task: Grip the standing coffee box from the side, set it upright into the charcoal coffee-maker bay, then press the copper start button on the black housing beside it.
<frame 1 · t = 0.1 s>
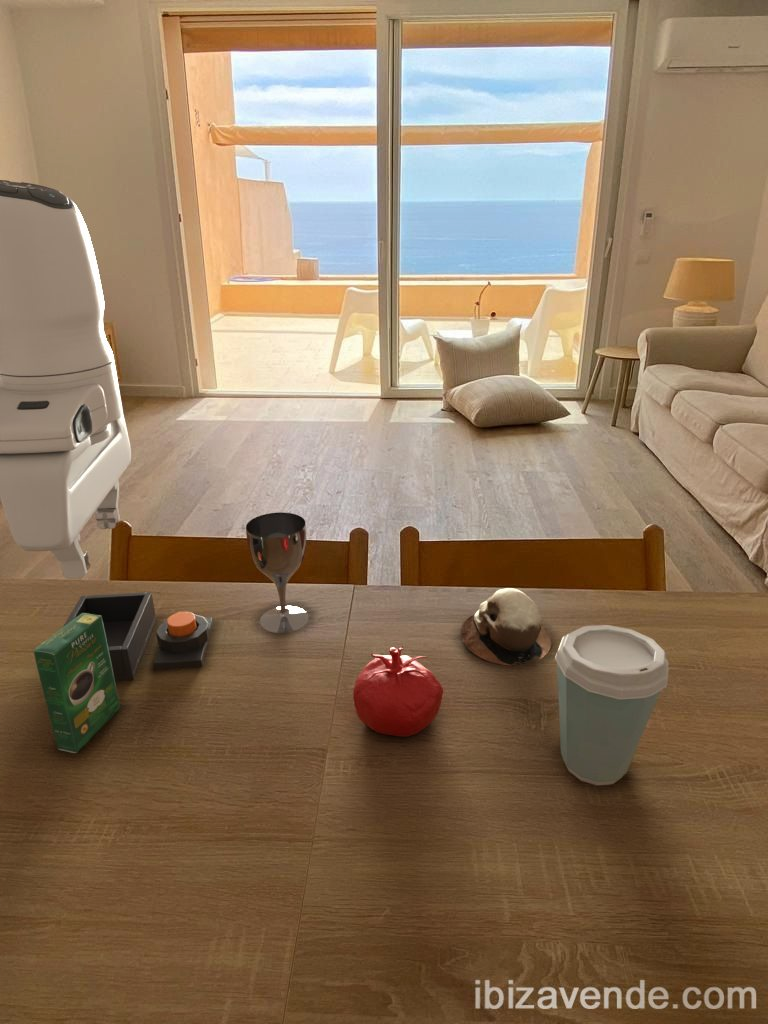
hand: (94, 548, 63), 26 cm above the table, tool pointing down, fingers open, 8 cm apart
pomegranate: (398, 719, 80), on the table
coffee box: (91, 729, 79), on the table
wine glass: (284, 620, 99), on the table
start button: (181, 624, 92), point 3 cm above the table, slide at 0.1 cm
disposable coffee cup: (596, 764, 73), on the table
skull: (505, 640, 94), on the table
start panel: (185, 646, 93), on the table
maker bay: (109, 651, 93), on the table
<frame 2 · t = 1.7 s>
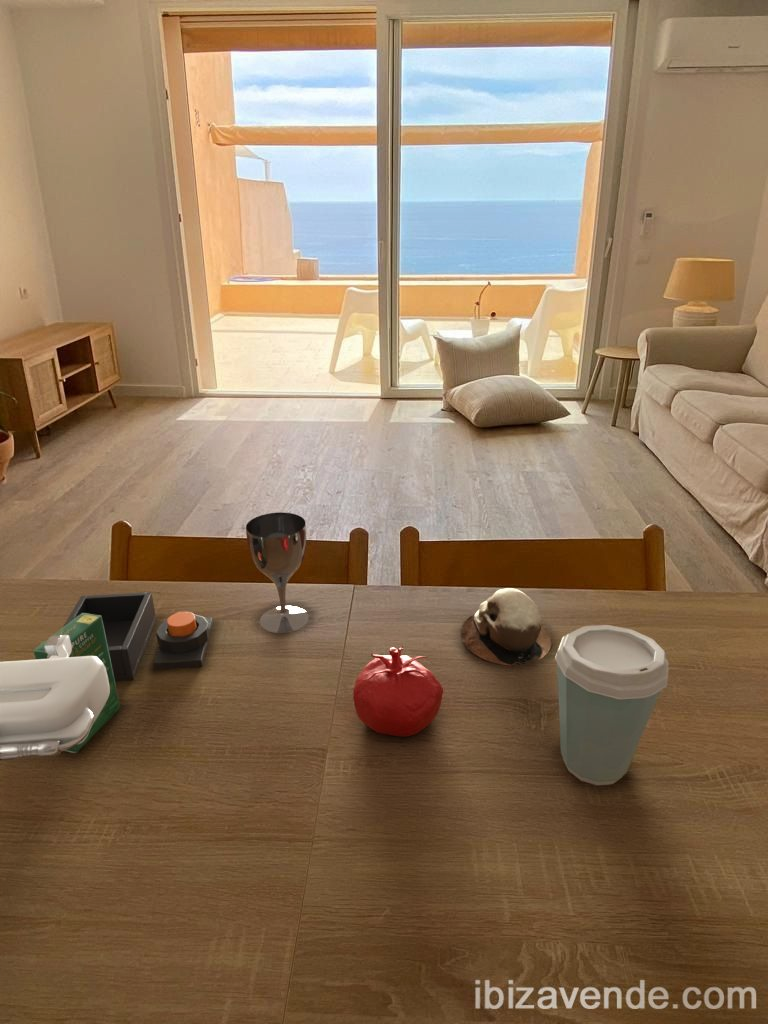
hand: (5, 645, 60), 20 cm above the table, tool horizontal, fingers open, 8 cm apart
nothing on the table moved.
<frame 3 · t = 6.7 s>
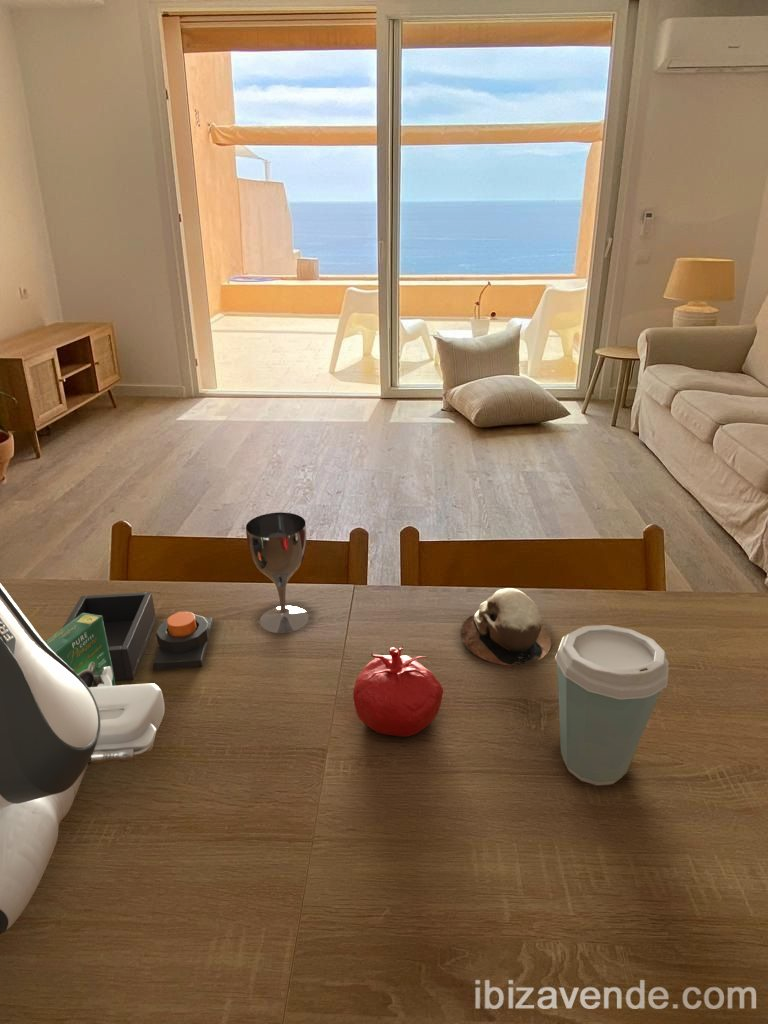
hand: (81, 673, 77), 7 cm above the table, tool horizontal, fingers closed on coffee box, 4 cm apart
coffee box: (91, 729, 79), on the table, touching gripper
everything else where it was.
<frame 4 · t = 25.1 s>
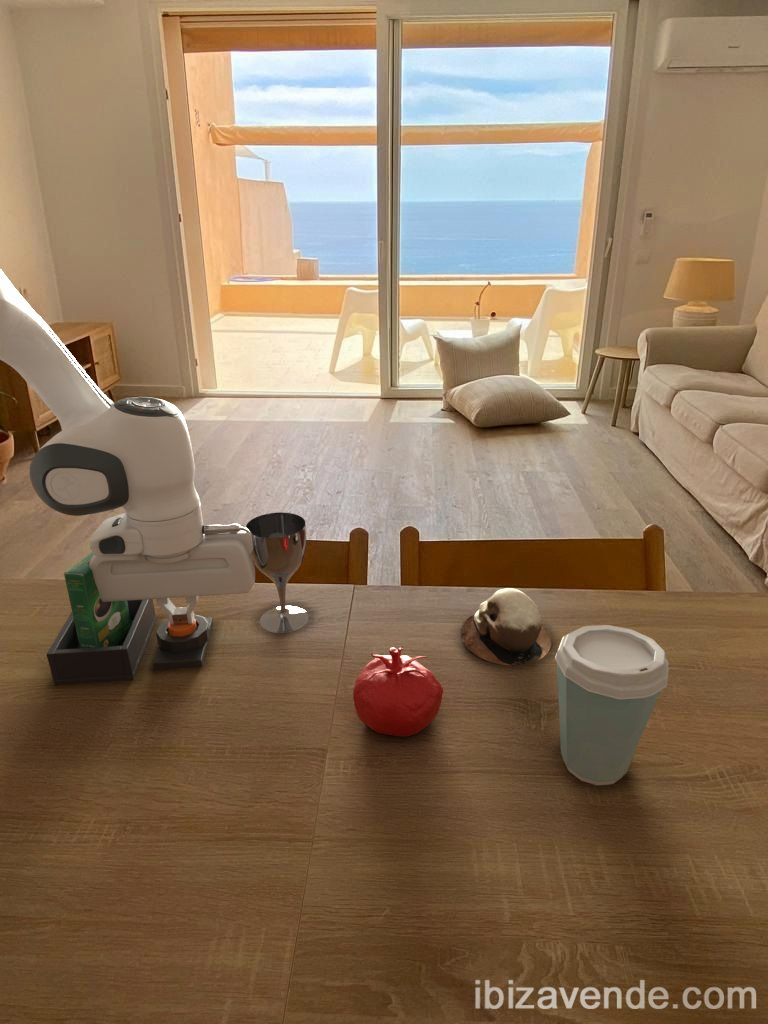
hand: (182, 622, 92), 4 cm above the table, tool pointing down, fingers closed, pressing on start button
coffee box: (109, 647, 92), point 1 cm above the table, touching maker bay
start button: (182, 628, 92), point 3 cm above the table, slide at -0.5 cm, touching gripper
everything else where it was.
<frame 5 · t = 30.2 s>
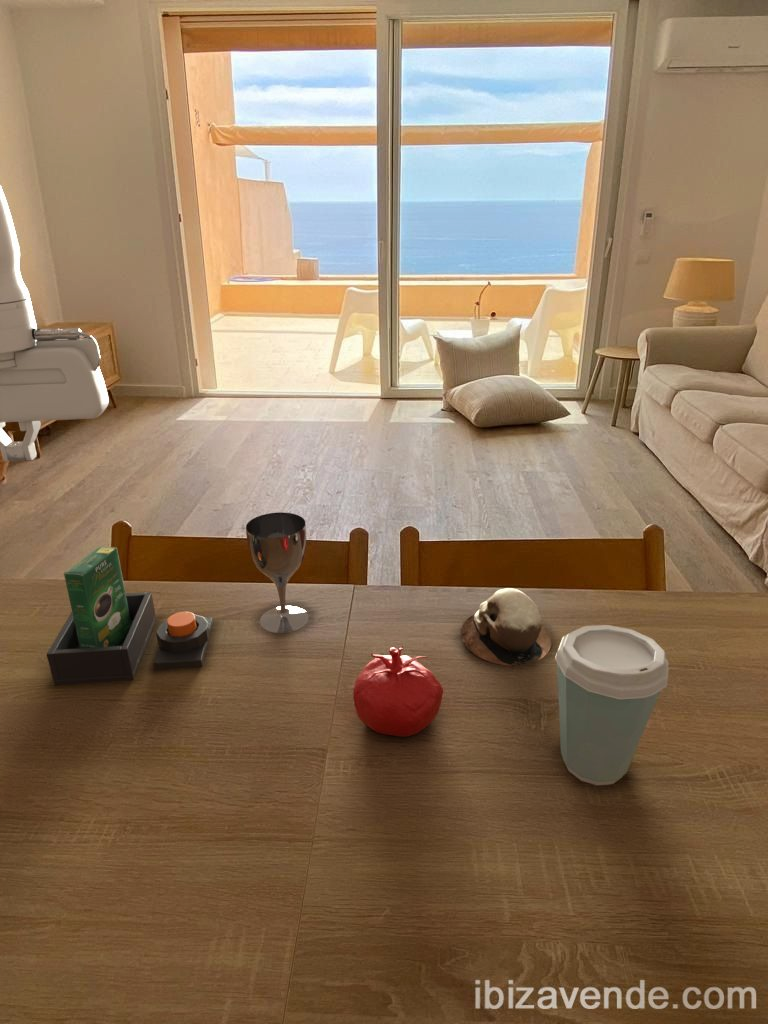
hand: (20, 459, 76), 29 cm above the table, tool pointing down, fingers closed
start button: (181, 624, 92), point 3 cm above the table, slide at 0.1 cm
everything else where it was.
at the end: coffee box inside the target area in the maker bay (0.1 cm from its centre), point 0.6 cm above the maker bay's base; coffee box tilted 0°; start button pushed in 1.0 cm at the most during the clip, back to where it started at the end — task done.
